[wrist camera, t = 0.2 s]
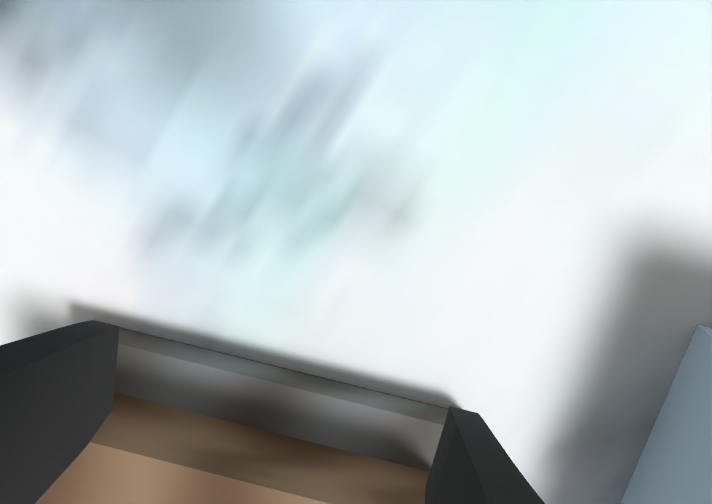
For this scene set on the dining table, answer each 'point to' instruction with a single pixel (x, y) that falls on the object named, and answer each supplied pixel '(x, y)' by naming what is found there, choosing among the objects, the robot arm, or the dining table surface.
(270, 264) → the dining table surface
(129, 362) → the stand
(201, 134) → the dining table surface
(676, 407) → the beam
